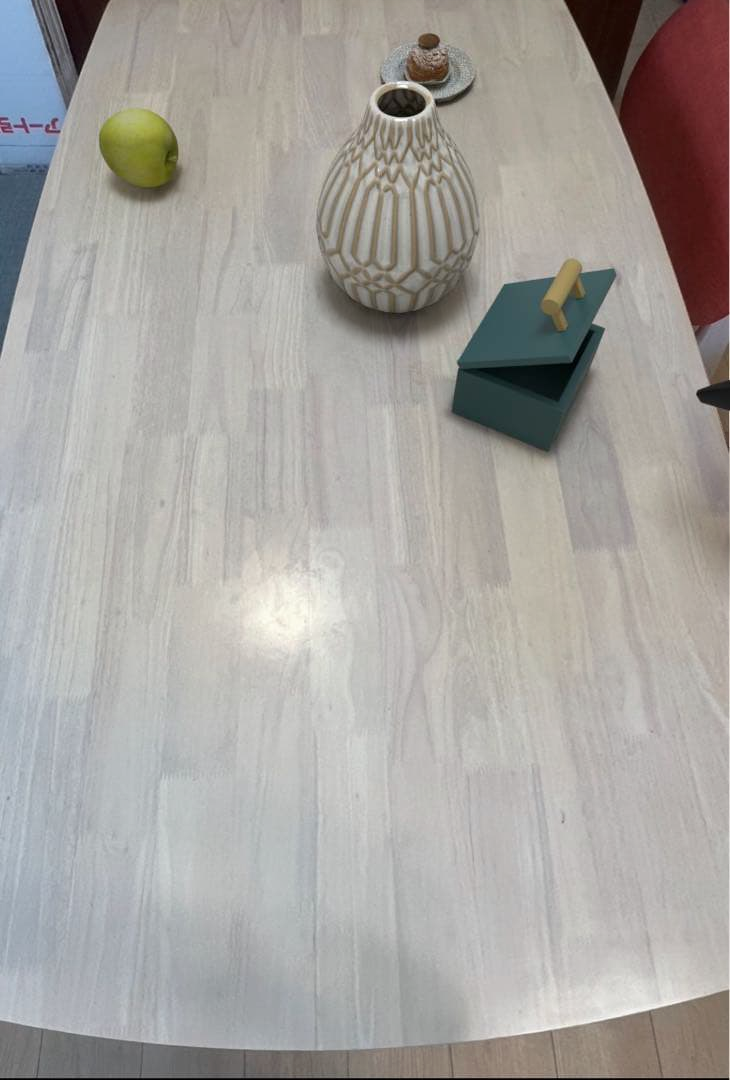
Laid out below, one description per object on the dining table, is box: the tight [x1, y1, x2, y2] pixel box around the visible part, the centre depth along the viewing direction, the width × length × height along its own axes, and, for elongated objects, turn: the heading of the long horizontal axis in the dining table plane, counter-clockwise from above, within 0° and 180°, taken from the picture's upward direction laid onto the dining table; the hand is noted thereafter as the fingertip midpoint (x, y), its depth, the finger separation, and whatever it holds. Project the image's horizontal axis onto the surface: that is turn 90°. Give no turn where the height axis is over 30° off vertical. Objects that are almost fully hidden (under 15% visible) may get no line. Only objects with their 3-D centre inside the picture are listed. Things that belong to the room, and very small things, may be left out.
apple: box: [98, 107, 180, 188], centre depth 84 cm, size 8×9×8 cm
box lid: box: [456, 258, 617, 369], centre depth 64 cm, size 11×11×4 cm
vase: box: [315, 81, 481, 314], centre depth 71 cm, size 16×16×20 cm
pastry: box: [380, 32, 477, 104], centre depth 94 cm, size 12×12×5 cm
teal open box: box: [451, 323, 606, 453], centre depth 71 cm, size 10×11×6 cm
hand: (715, 354), depth 59 cm, fingers open, 9 cm apart
